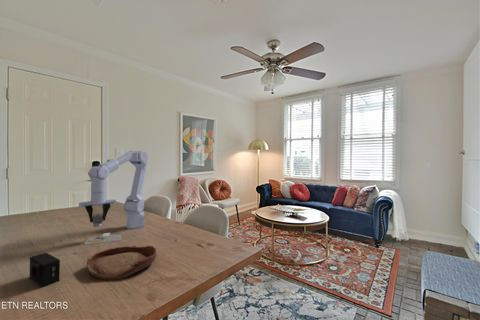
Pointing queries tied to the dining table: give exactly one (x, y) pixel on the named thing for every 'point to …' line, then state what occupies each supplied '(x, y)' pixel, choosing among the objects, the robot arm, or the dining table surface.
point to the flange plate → (104, 239)
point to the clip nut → (97, 220)
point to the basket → (120, 261)
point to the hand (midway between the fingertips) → (97, 220)
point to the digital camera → (44, 269)
